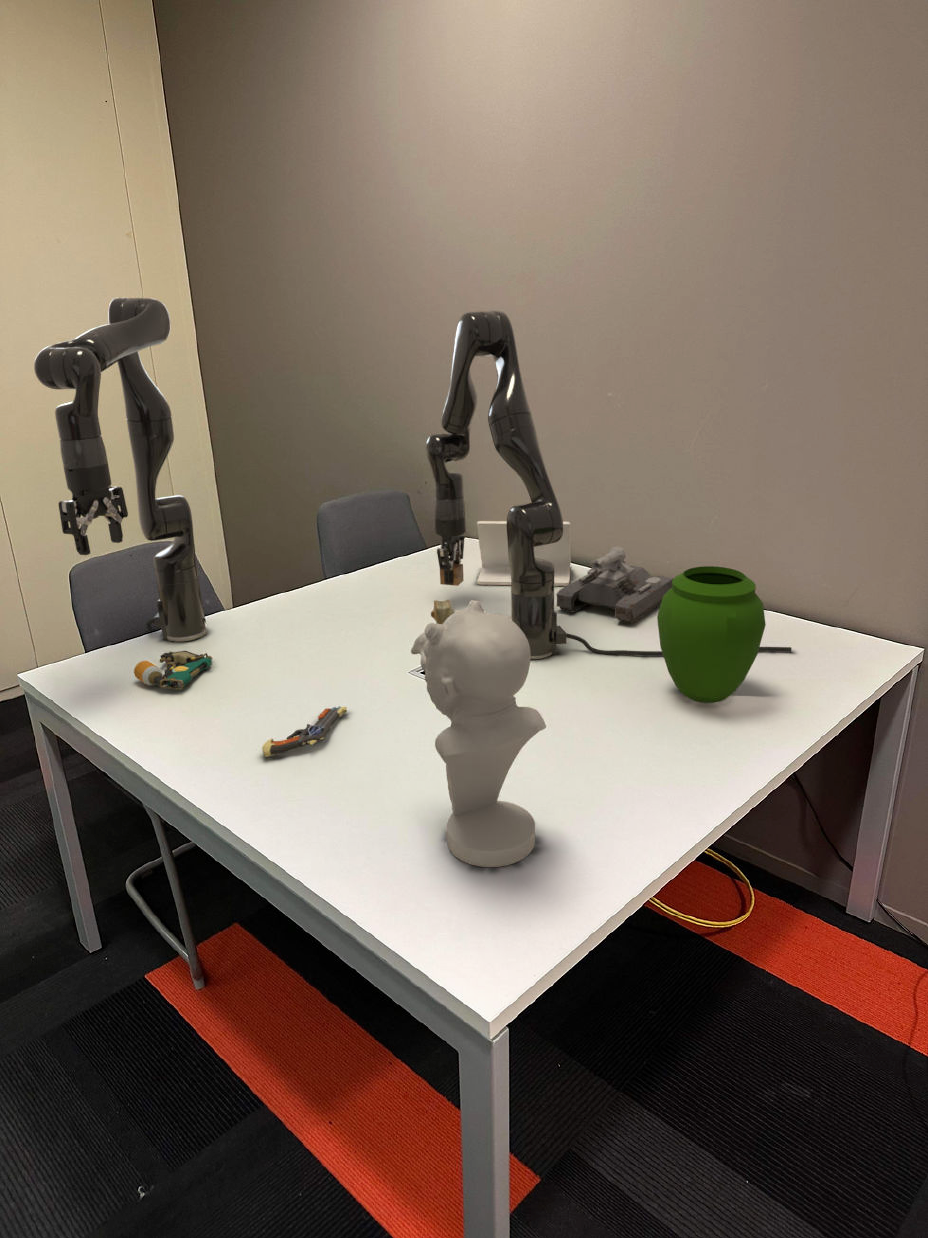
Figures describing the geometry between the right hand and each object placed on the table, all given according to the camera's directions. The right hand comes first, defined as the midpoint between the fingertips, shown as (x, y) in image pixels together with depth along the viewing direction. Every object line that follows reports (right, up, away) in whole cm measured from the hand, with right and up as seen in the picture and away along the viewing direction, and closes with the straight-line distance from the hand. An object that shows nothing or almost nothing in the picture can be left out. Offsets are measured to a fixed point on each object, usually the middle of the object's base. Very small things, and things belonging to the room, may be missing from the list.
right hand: (452, 580), depth 216 cm
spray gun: (-58, -22, -35) cm, 71 cm away
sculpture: (-1, -21, -36) cm, 42 cm away
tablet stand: (+20, +2, +23) cm, 31 cm away
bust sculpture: (+4, -41, -91) cm, 100 cm away
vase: (+50, -25, -51) cm, 75 cm away
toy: (+41, -6, -2) cm, 42 cm away
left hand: (-65, +4, -55) cm, 86 cm away
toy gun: (-26, -31, -61) cm, 73 cm away
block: (0, 0, 0) cm, 0 cm away
